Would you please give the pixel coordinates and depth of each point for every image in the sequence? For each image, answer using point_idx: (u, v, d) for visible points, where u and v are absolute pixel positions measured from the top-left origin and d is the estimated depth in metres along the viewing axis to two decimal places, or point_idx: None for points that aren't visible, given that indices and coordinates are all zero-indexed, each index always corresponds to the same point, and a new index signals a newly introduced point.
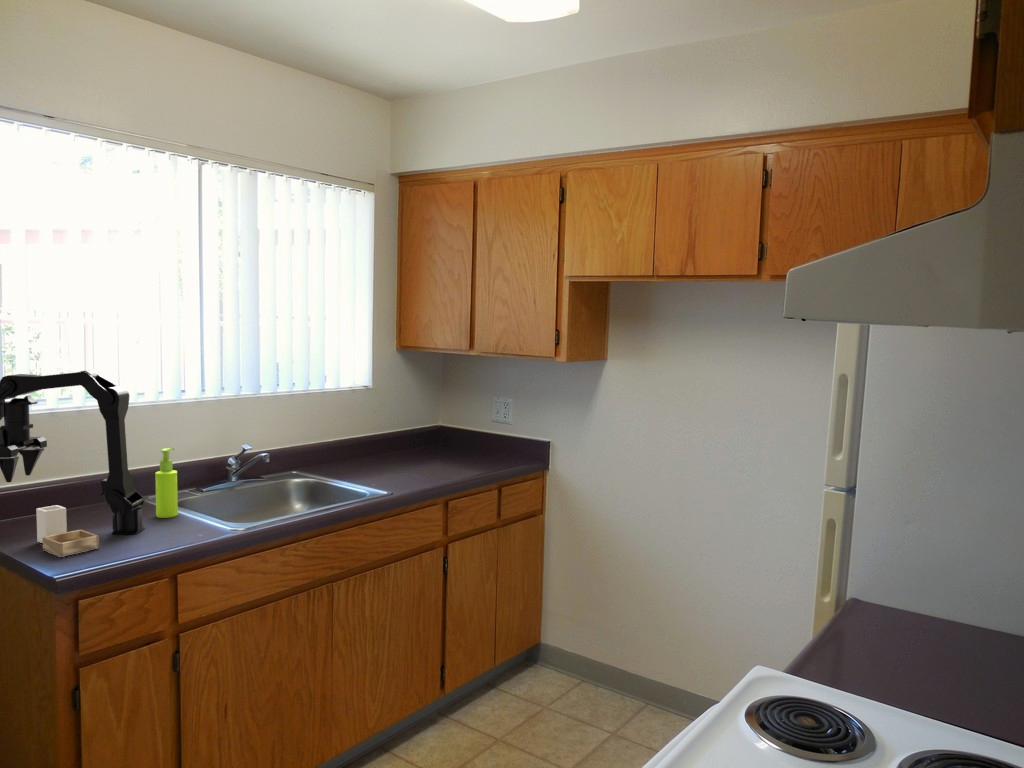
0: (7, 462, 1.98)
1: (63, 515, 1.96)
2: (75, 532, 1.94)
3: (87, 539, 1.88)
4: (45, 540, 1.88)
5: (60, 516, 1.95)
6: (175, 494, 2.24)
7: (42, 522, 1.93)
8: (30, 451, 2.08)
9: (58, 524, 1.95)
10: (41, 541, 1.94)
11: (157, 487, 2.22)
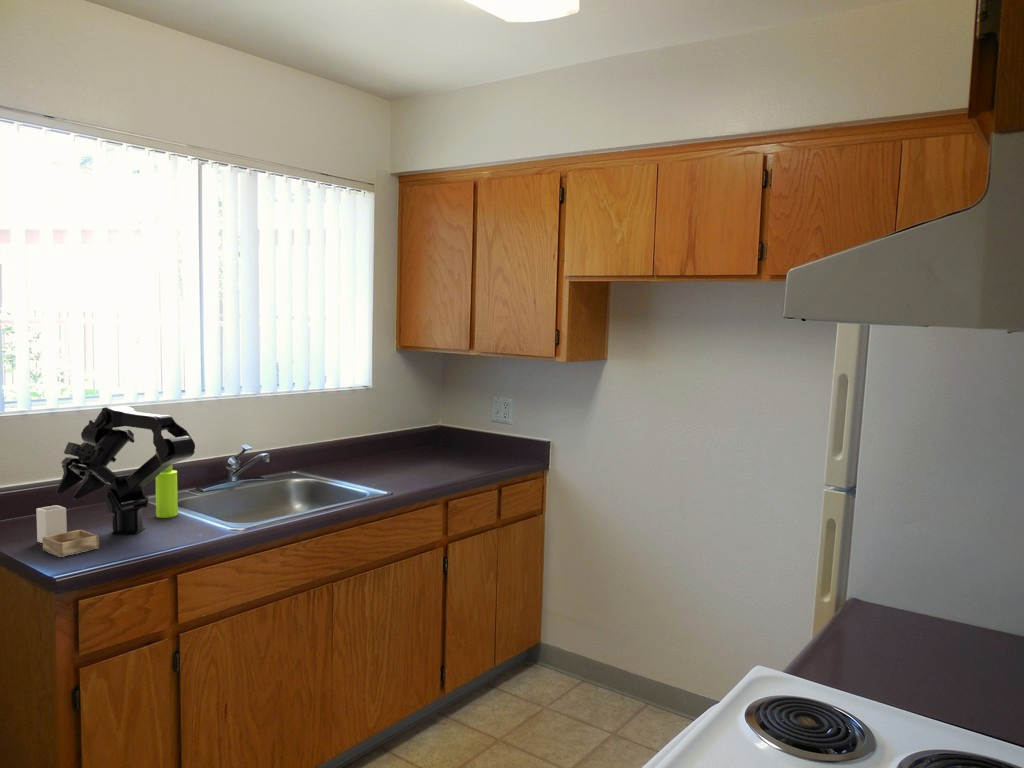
0: (93, 482, 1.98)
1: (63, 515, 1.96)
2: (75, 532, 1.94)
3: (87, 539, 1.88)
4: (45, 540, 1.88)
5: (60, 516, 1.95)
6: (175, 494, 2.24)
7: (42, 522, 1.93)
8: (75, 474, 2.05)
9: (58, 524, 1.95)
10: (41, 541, 1.94)
11: (157, 487, 2.22)
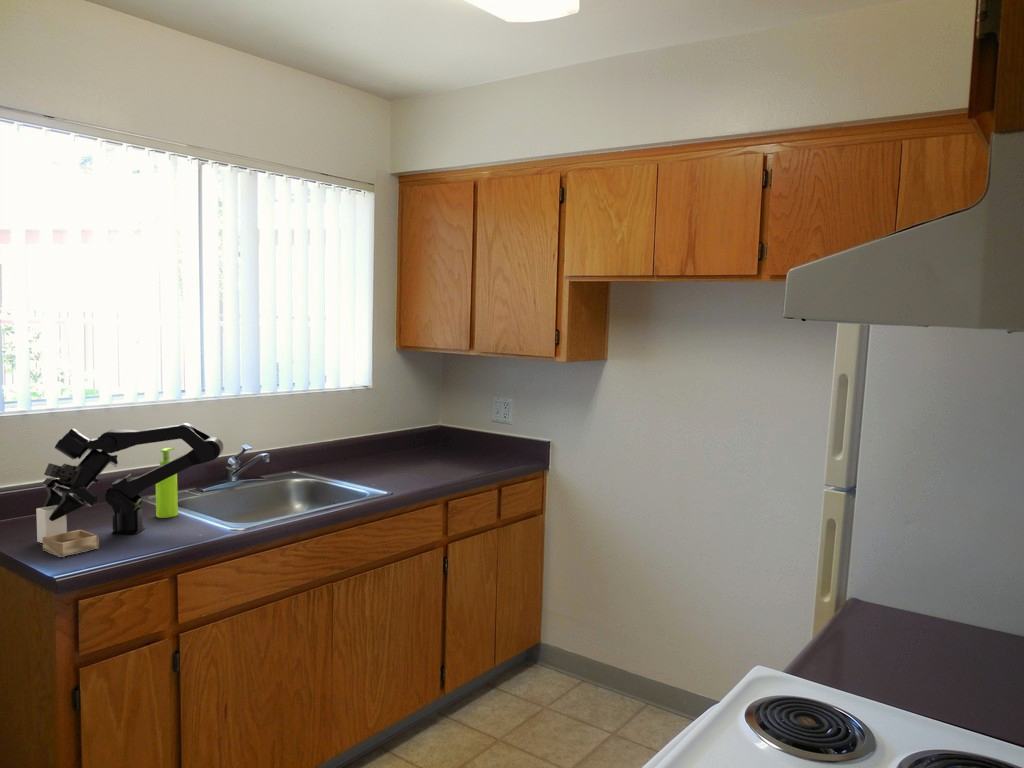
0: (70, 503, 1.95)
1: None
2: (75, 532, 1.94)
3: (87, 539, 1.88)
4: (45, 540, 1.88)
5: None
6: (175, 494, 2.24)
7: (42, 522, 1.93)
8: (60, 496, 2.00)
9: (58, 524, 1.95)
10: (41, 541, 1.94)
11: (157, 487, 2.22)
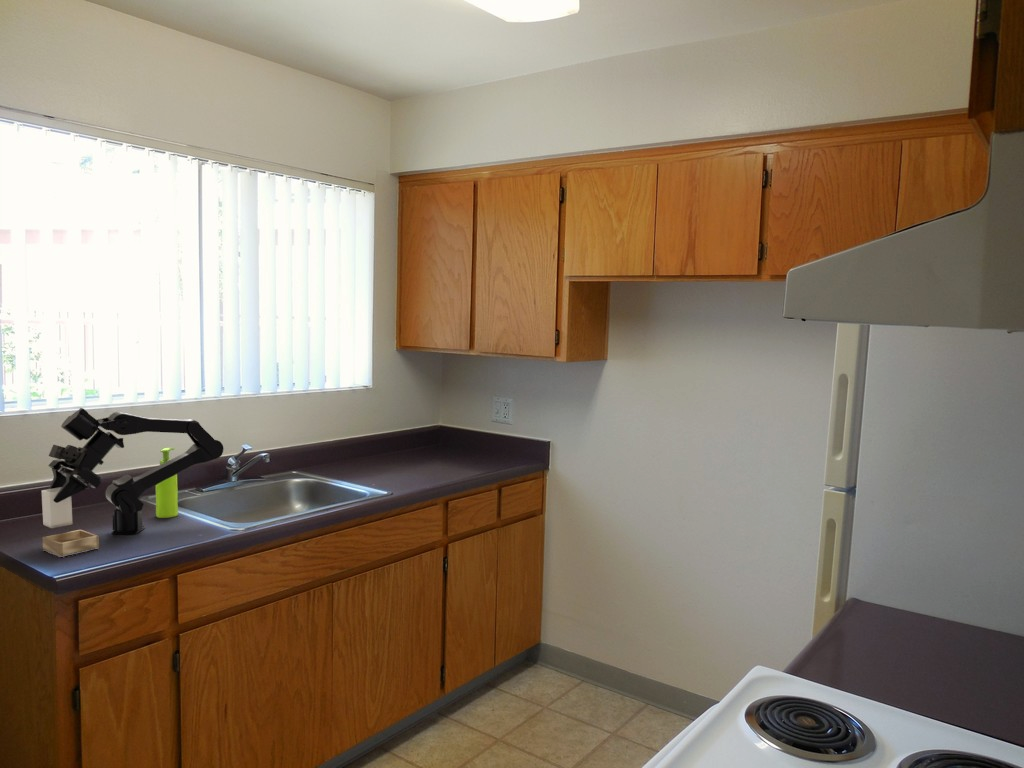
0: (74, 485, 1.93)
1: (68, 497, 1.93)
2: (75, 532, 1.94)
3: (87, 539, 1.88)
4: (45, 540, 1.88)
5: None
6: (175, 494, 2.24)
7: (47, 504, 1.91)
8: (66, 478, 1.98)
9: (63, 506, 1.92)
10: (46, 523, 1.92)
11: (157, 487, 2.22)
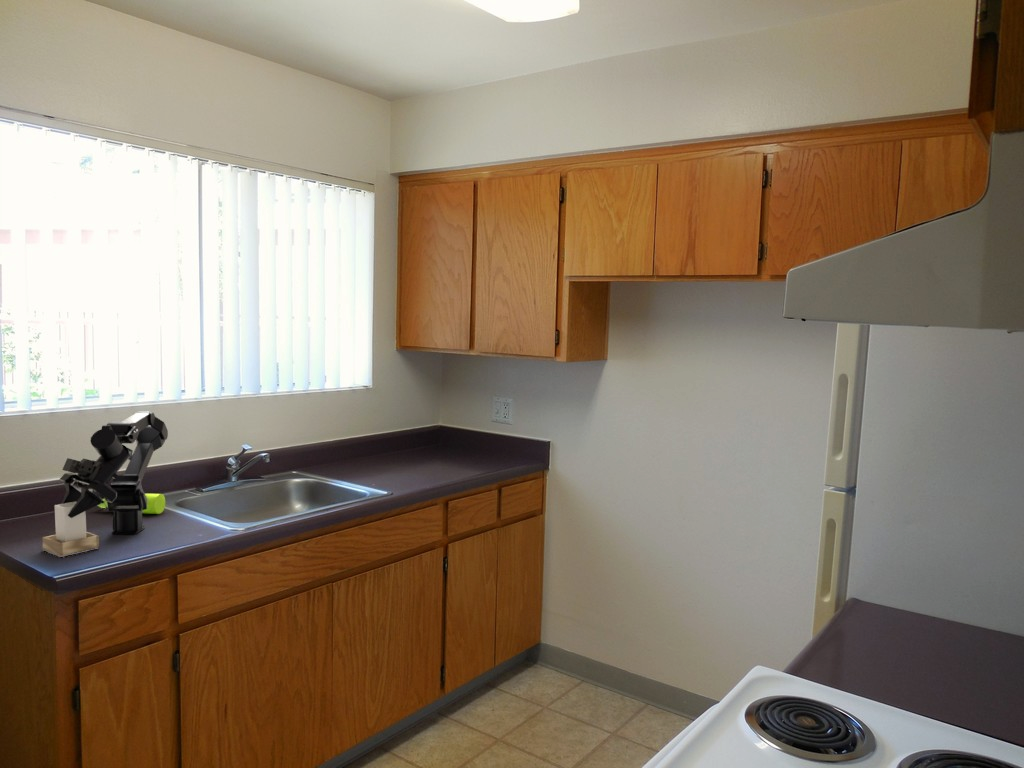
0: (89, 500, 1.89)
1: (83, 512, 1.89)
2: None
3: (87, 539, 1.88)
4: (45, 540, 1.88)
5: None
6: None
7: (61, 519, 1.87)
8: (78, 492, 1.94)
9: (77, 521, 1.88)
10: (60, 539, 1.88)
11: None
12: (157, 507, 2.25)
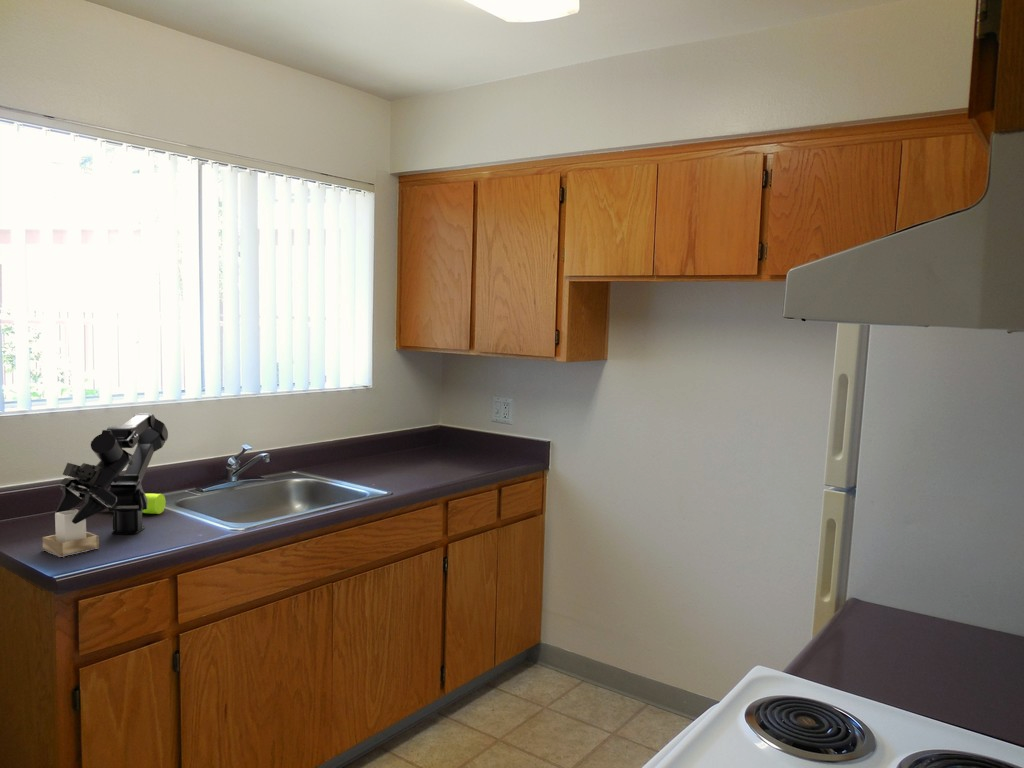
0: (93, 506, 1.88)
1: None
2: None
3: (87, 539, 1.88)
4: (45, 540, 1.88)
5: None
6: None
7: (61, 527, 1.87)
8: (75, 496, 1.95)
9: (77, 529, 1.88)
10: None
11: None
12: (157, 507, 2.25)
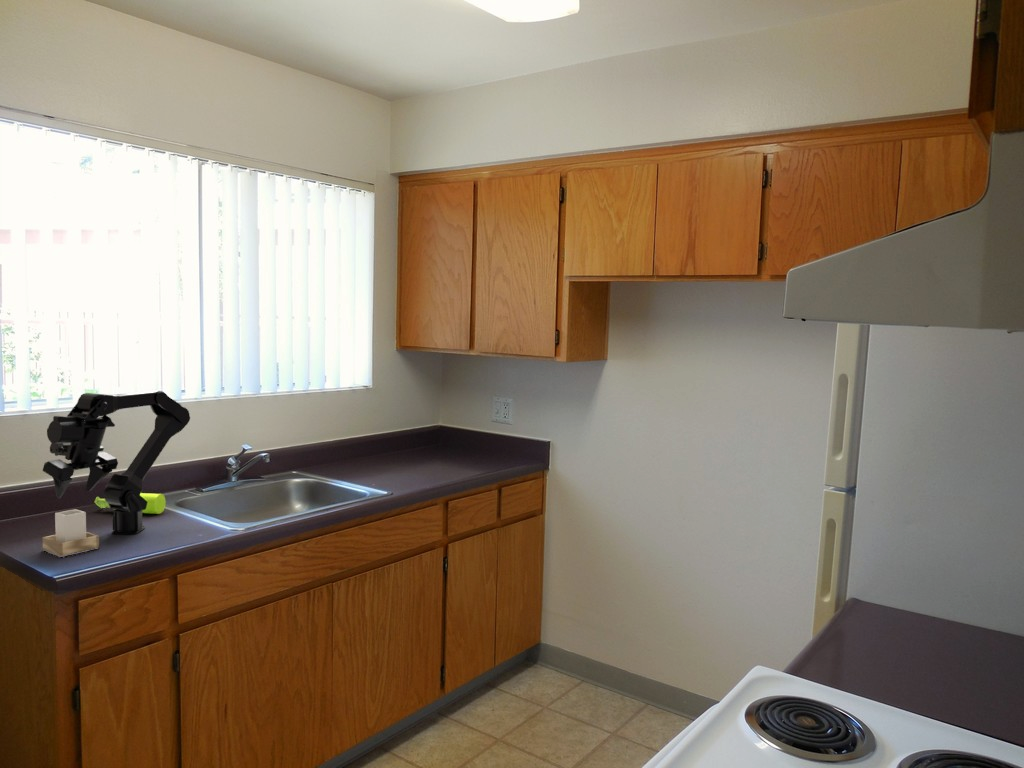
0: None
1: (83, 519, 1.89)
2: None
3: (87, 539, 1.88)
4: (45, 540, 1.88)
5: (79, 521, 1.89)
6: None
7: (61, 527, 1.87)
8: (97, 469, 2.03)
9: (77, 529, 1.88)
10: None
11: None
12: (157, 507, 2.25)
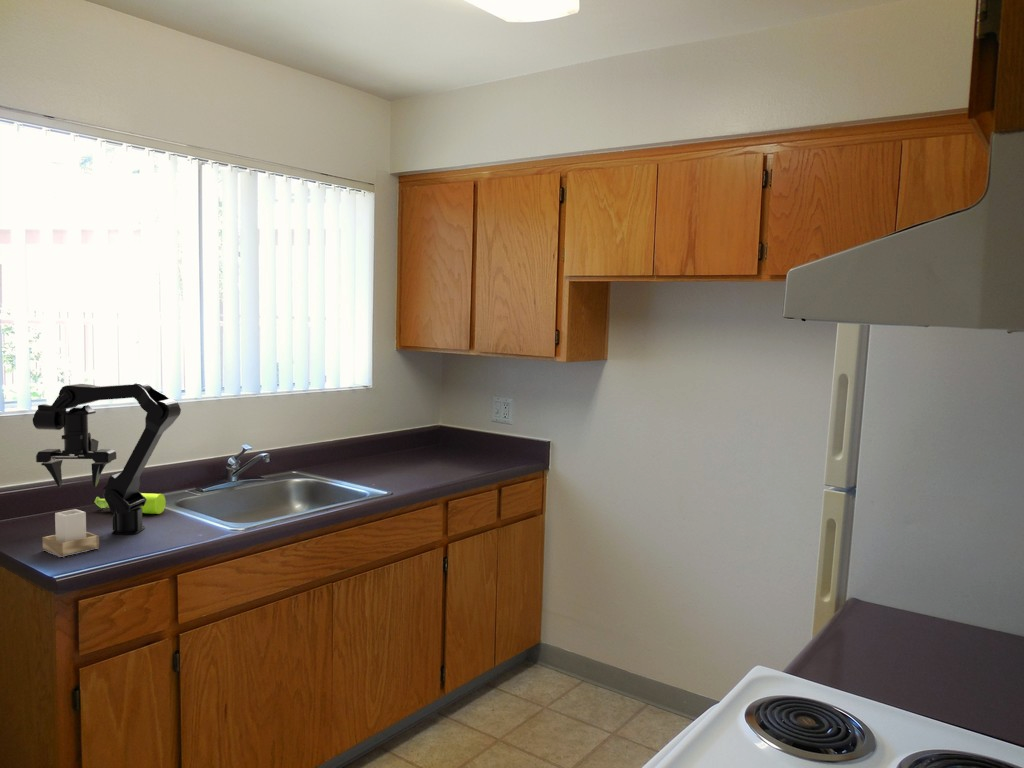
0: None
1: (83, 519, 1.89)
2: None
3: (87, 539, 1.88)
4: (45, 540, 1.88)
5: (79, 521, 1.89)
6: None
7: (61, 527, 1.87)
8: None
9: (77, 529, 1.88)
10: None
11: None
12: (157, 507, 2.25)
